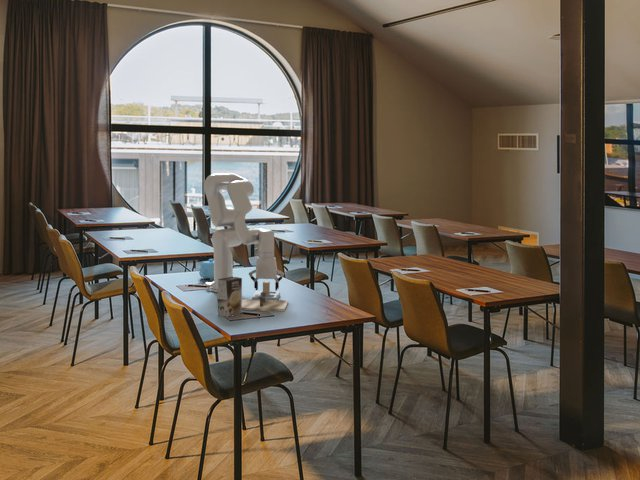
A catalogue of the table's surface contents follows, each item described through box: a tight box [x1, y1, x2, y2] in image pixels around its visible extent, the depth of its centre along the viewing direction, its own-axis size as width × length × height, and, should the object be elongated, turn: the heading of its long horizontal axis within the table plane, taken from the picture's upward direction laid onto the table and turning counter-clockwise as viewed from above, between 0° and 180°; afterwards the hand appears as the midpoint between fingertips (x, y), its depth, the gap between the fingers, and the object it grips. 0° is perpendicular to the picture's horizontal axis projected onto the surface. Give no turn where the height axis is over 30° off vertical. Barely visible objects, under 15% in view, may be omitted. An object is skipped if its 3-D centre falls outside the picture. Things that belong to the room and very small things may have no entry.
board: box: [242, 292, 289, 312], centre depth 325 cm, size 22×18×6 cm
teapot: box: [198, 258, 214, 281], centre depth 394 cm, size 15×14×11 cm
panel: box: [251, 280, 281, 300], centre depth 344 cm, size 12×16×8 cm
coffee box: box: [217, 276, 243, 318], centre depth 308 cm, size 9×6×16 cm
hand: (266, 289), depth 344 cm, fingers open, 9 cm apart
